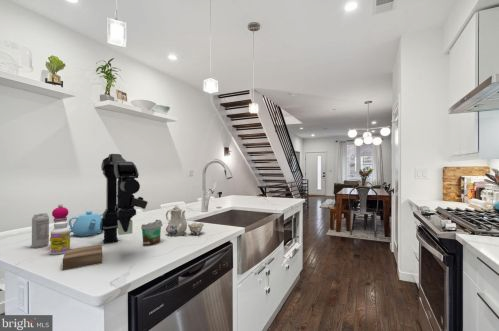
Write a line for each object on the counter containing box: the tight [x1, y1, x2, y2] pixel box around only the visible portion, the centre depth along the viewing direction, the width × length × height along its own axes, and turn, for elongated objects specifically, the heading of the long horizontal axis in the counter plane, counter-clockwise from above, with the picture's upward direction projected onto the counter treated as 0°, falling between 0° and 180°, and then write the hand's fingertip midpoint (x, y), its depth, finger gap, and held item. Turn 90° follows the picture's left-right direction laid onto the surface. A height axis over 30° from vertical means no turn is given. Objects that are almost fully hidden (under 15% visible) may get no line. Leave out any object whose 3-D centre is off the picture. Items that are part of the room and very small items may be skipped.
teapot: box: [68, 210, 103, 237], centre depth 133 cm, size 20×20×13 cm
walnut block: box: [62, 244, 103, 271], centre depth 94 cm, size 12×12×4 cm
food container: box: [140, 219, 163, 247], centre depth 117 cm, size 12×6×10 cm, turn 168°
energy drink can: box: [31, 212, 50, 249], centre depth 113 cm, size 6×6×15 cm
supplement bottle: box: [50, 221, 71, 256], centre depth 104 cm, size 7×7×13 cm
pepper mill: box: [49, 203, 69, 242], centre depth 111 cm, size 7×7×20 cm
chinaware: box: [165, 204, 205, 237], centre depth 136 cm, size 28×17×17 cm, turn 58°
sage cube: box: [117, 218, 133, 236], centre depth 100 cm, size 5×5×5 cm
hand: (125, 230), depth 100 cm, fingers closed on sage cube, 5 cm apart
